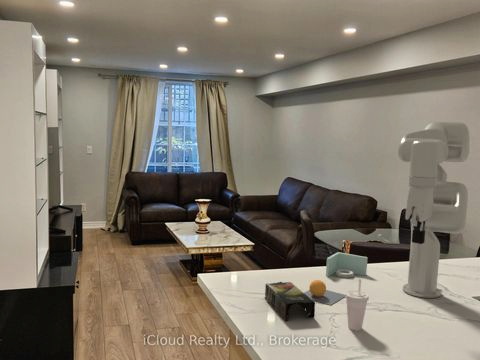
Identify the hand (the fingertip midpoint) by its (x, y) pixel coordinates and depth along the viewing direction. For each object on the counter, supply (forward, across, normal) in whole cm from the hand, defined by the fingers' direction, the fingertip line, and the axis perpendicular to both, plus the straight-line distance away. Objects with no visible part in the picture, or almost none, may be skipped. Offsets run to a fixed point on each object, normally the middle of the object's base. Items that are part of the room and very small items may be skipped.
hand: (418, 242), depth 141 cm
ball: (+20, +8, -29) cm, 36 cm away
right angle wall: (+24, -21, -33) cm, 46 cm away
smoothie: (+22, +23, -8) cm, 33 cm away
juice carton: (+22, +24, -30) cm, 44 cm away
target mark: (+22, +7, -28) cm, 36 cm away
